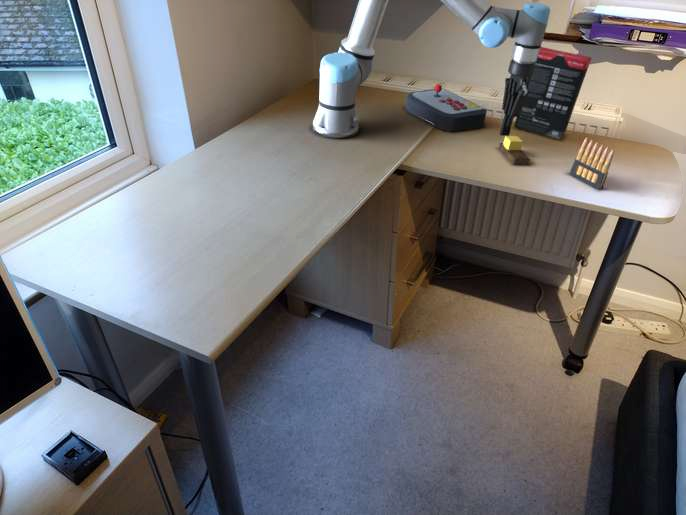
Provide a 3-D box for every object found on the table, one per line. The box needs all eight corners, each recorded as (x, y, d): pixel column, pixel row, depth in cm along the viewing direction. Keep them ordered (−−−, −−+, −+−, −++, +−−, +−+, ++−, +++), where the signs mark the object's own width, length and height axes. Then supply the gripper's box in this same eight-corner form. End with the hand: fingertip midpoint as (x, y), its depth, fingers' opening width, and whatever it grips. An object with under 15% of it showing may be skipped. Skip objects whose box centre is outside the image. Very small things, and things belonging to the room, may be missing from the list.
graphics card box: (565, 135, 179) (593, 55, 163) (561, 141, 174) (589, 59, 158) (518, 123, 186) (540, 45, 170) (512, 128, 181) (534, 48, 165)
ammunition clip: (602, 188, 147) (618, 150, 140) (598, 189, 146) (614, 151, 139) (572, 173, 154) (586, 135, 147) (568, 174, 153) (582, 136, 146)
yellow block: (502, 144, 164) (505, 135, 162) (515, 144, 164) (517, 136, 162) (508, 150, 160) (510, 141, 158) (520, 150, 161) (523, 141, 159)
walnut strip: (498, 148, 166) (500, 142, 165) (512, 148, 167) (514, 142, 165) (513, 165, 156) (515, 159, 155) (528, 164, 157) (530, 159, 156)
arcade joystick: (398, 107, 192) (401, 80, 186) (437, 101, 200) (442, 75, 194) (445, 134, 173) (450, 105, 167) (487, 126, 181) (493, 98, 175)
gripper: (545, 67, 149) (523, 142, 162) (525, 55, 159) (507, 127, 173) (521, 66, 147) (501, 142, 161) (503, 54, 158) (486, 127, 172)
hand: (504, 134), depth 167 cm, fingers closed
